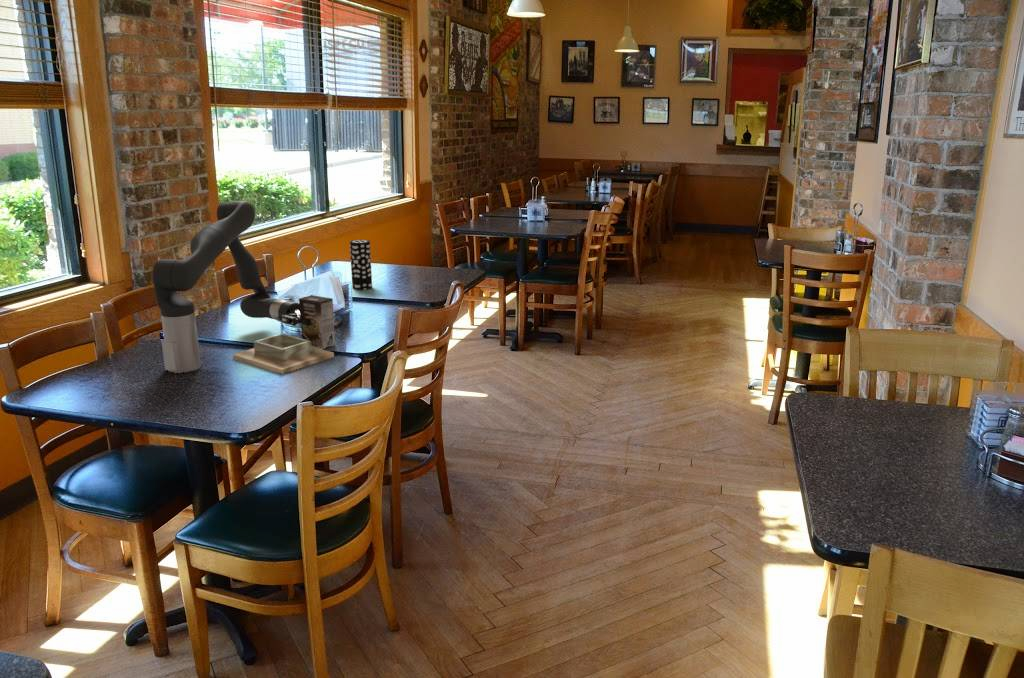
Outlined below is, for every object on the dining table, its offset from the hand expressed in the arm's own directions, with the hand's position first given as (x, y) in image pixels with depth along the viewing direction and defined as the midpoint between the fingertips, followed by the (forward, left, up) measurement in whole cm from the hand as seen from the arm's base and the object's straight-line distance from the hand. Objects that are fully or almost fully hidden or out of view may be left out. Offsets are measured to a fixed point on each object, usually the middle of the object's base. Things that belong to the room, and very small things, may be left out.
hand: (319, 319), depth 257 cm
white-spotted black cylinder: (+65, +49, -9) cm, 82 cm away
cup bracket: (-15, 0, -9) cm, 17 cm away
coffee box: (0, +1, -9) cm, 9 cm away
